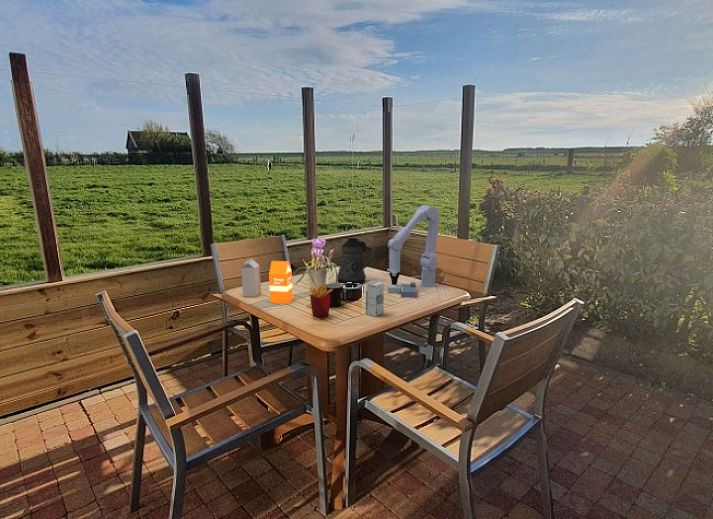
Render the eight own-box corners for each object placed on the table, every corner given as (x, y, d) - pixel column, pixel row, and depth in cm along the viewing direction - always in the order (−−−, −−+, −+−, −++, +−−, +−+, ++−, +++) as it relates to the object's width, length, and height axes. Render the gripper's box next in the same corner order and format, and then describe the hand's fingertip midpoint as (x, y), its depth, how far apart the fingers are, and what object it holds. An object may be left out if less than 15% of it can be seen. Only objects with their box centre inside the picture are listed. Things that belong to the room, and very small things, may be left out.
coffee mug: (335, 309, 194) (335, 288, 192) (321, 306, 199) (321, 285, 197) (351, 303, 203) (351, 283, 201) (337, 300, 208) (337, 280, 206)
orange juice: (287, 303, 203) (285, 263, 199) (270, 302, 205) (268, 262, 201) (292, 298, 211) (291, 259, 207) (276, 298, 212) (274, 259, 208)
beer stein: (334, 279, 248) (333, 237, 243) (365, 276, 254) (365, 235, 249) (341, 286, 233) (340, 241, 228) (374, 283, 238) (374, 239, 233)
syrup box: (373, 311, 192) (373, 280, 189) (383, 313, 188) (384, 282, 185) (365, 314, 188) (365, 282, 185) (376, 317, 184) (376, 284, 181)
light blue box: (388, 290, 225) (388, 284, 224) (400, 290, 224) (400, 284, 224) (387, 293, 219) (387, 287, 218) (400, 293, 218) (400, 287, 218)
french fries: (309, 316, 185) (308, 283, 182) (324, 312, 191) (323, 280, 187) (322, 321, 179) (322, 287, 176) (337, 316, 184) (336, 283, 181)
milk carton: (261, 293, 221) (259, 257, 217) (256, 297, 214) (254, 260, 210) (247, 293, 221) (245, 257, 218) (243, 296, 215) (240, 260, 211)
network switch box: (401, 289, 226) (401, 281, 225) (415, 290, 225) (415, 282, 224) (400, 297, 212) (401, 288, 211) (415, 297, 211) (416, 289, 210)
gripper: (387, 258, 232) (387, 282, 235) (386, 264, 218) (386, 289, 220) (400, 258, 231) (400, 282, 234) (400, 264, 217) (399, 289, 220)
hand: (394, 285), depth 227 cm, fingers closed
